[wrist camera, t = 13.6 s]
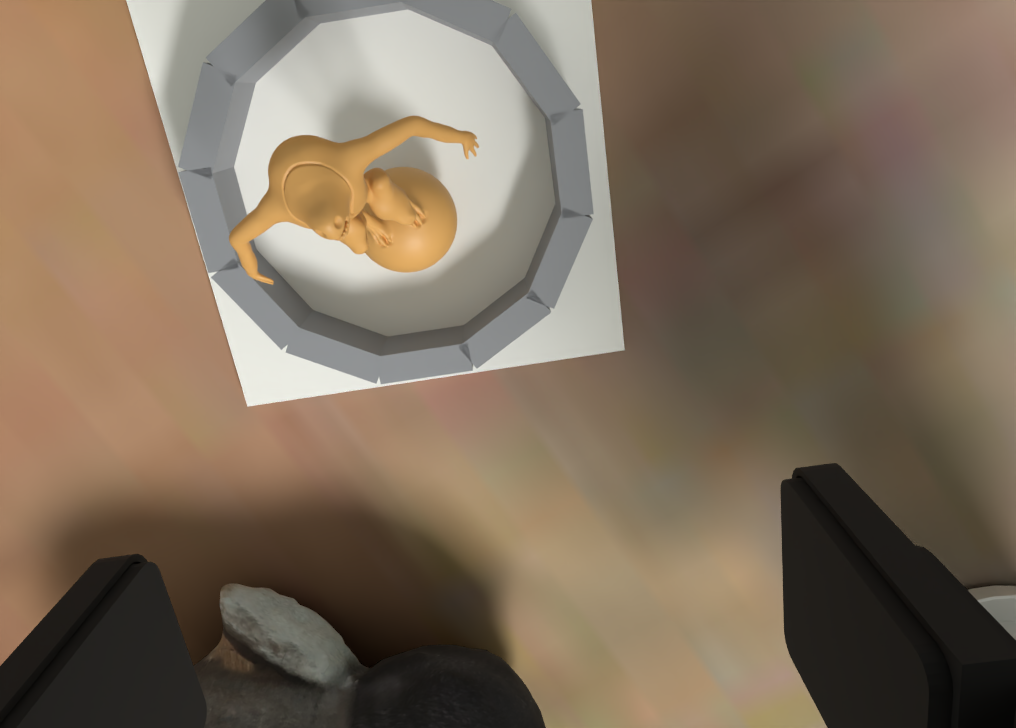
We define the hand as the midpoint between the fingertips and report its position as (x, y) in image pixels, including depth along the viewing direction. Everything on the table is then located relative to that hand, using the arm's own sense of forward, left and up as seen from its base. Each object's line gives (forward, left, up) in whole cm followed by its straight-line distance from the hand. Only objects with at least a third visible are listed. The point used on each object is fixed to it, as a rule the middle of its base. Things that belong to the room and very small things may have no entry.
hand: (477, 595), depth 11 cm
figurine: (+3, -4, -22) cm, 22 cm away
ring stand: (+3, -4, -22) cm, 23 cm away
